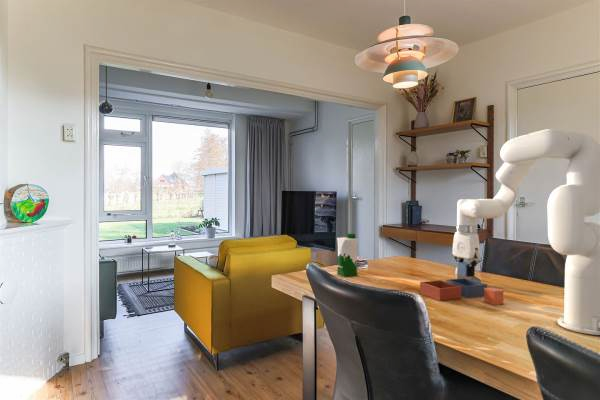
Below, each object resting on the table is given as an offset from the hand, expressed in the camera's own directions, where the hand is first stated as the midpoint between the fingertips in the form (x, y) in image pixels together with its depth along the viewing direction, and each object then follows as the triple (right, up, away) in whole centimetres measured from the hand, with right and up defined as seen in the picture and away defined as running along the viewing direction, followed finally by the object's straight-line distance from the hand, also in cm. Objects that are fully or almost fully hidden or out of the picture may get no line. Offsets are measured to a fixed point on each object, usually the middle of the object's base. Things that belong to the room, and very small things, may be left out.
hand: (465, 274), depth 147 cm
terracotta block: (+4, -8, -14) cm, 16 cm away
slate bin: (0, -7, 0) cm, 7 cm away
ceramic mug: (+9, -8, +18) cm, 22 cm away
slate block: (0, 0, 0) cm, 0 cm away
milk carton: (-44, -7, +31) cm, 54 cm away
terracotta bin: (-12, -7, -5) cm, 15 cm away
